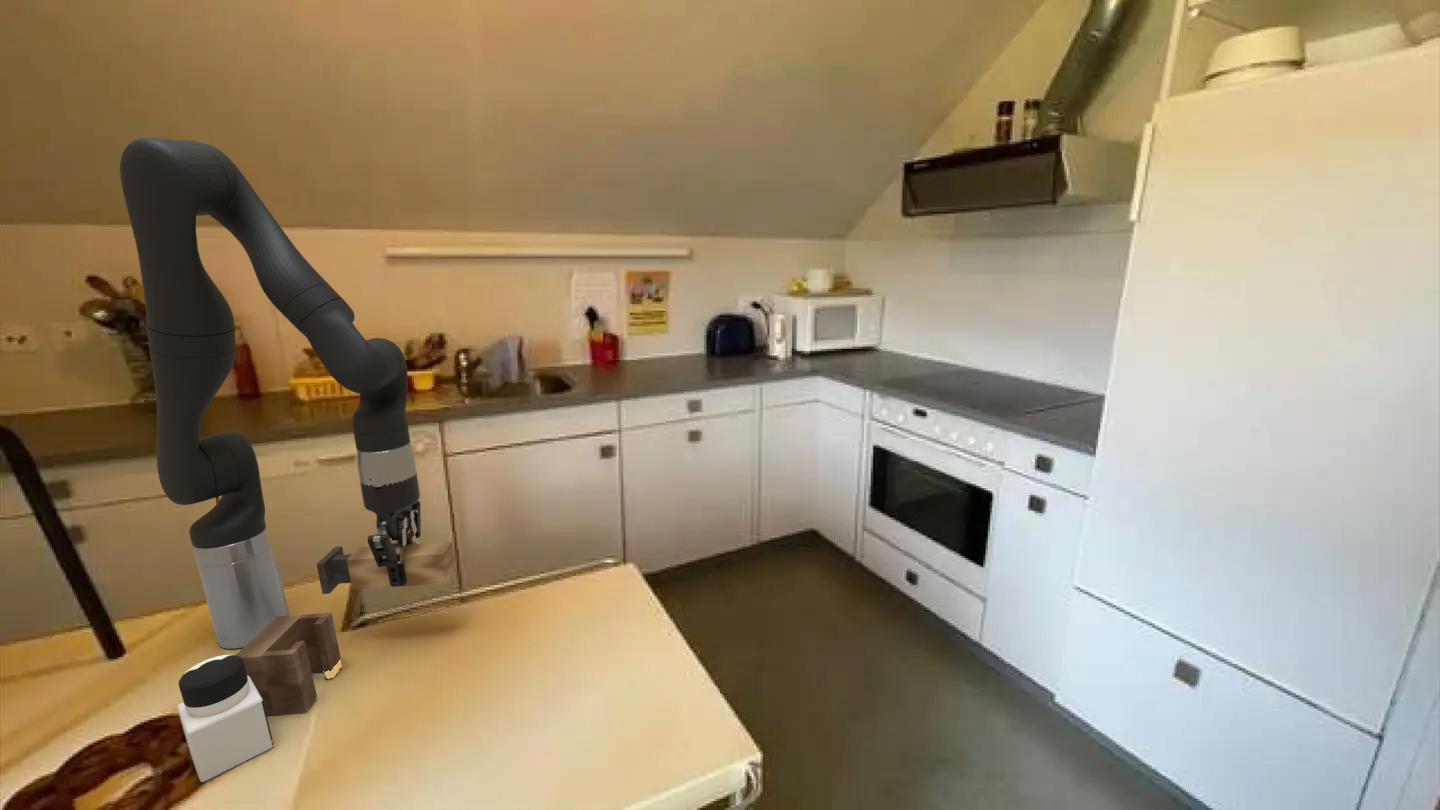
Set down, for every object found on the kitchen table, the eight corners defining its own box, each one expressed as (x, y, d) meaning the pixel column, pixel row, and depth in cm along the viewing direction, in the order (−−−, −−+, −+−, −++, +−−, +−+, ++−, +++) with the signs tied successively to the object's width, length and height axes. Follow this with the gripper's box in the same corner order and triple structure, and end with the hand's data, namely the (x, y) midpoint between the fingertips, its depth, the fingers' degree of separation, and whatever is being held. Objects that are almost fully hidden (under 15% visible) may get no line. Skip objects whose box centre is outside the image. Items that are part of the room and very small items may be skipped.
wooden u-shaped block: (342, 666, 90) (331, 612, 88) (305, 712, 81) (292, 653, 79) (289, 670, 90) (277, 616, 88) (246, 717, 81) (231, 658, 79)
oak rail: (457, 568, 99) (453, 539, 97) (446, 586, 93) (441, 556, 92) (340, 575, 97) (335, 546, 96) (322, 594, 92) (316, 564, 90)
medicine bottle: (274, 747, 75) (254, 663, 73) (201, 784, 70) (175, 695, 68) (260, 720, 80) (240, 640, 77) (190, 753, 75) (166, 668, 72)
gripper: (382, 459, 97) (398, 556, 102) (337, 493, 84) (358, 604, 88) (431, 457, 98) (444, 554, 102) (395, 490, 84) (412, 600, 89)
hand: (404, 576), depth 95 cm, fingers closed on oak rail, 4 cm apart
